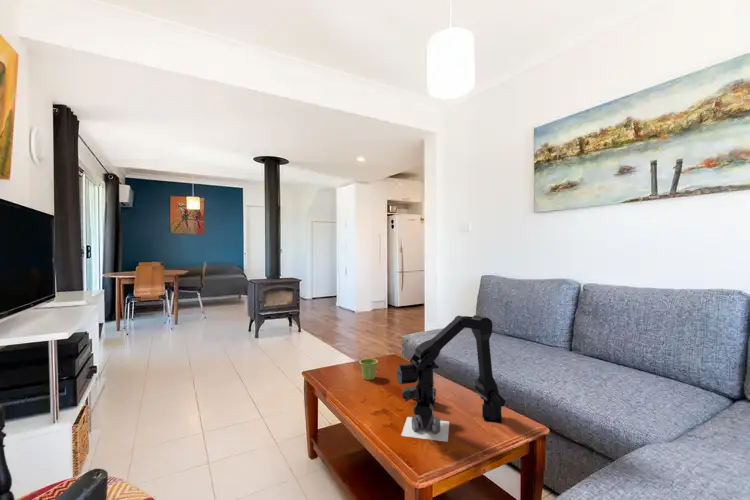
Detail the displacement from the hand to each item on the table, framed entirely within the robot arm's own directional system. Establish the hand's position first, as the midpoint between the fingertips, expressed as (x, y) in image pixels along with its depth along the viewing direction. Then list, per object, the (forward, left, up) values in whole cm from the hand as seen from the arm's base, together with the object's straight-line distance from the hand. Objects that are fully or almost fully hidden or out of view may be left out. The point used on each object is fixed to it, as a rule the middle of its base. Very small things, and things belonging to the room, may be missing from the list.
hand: (426, 423), depth 123 cm
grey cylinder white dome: (0, 0, -1) cm, 1 cm away
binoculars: (+4, -20, -2) cm, 21 cm away
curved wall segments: (0, 0, -2) cm, 2 cm away
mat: (0, 0, -2) cm, 2 cm away
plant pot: (+34, -44, -2) cm, 56 cm away
